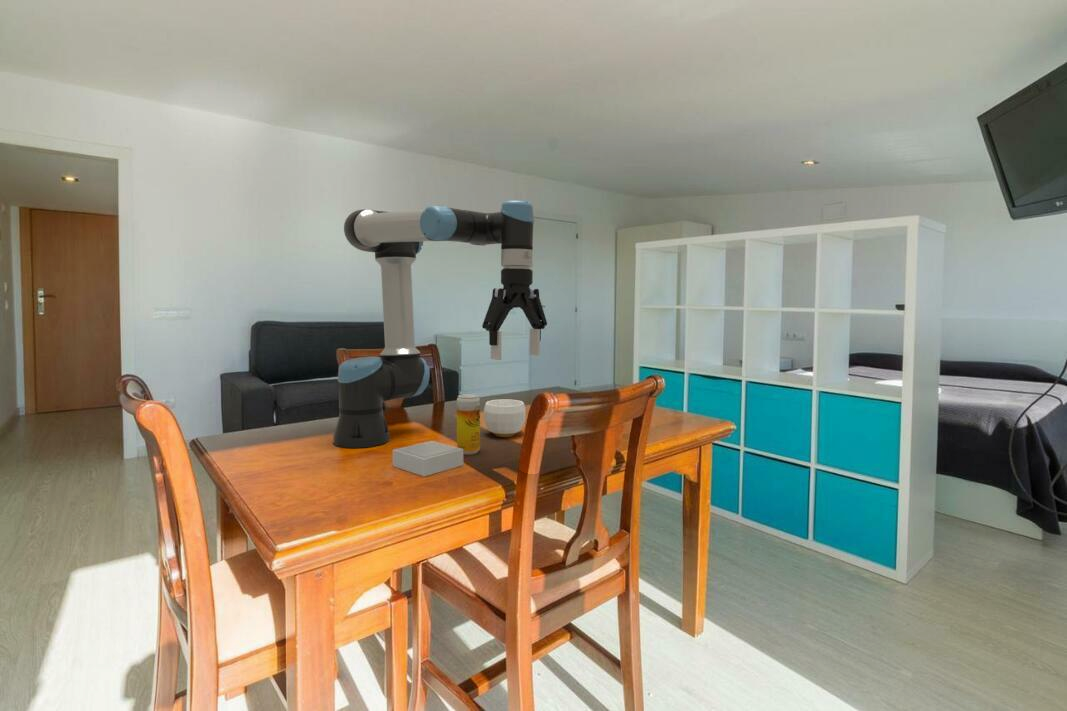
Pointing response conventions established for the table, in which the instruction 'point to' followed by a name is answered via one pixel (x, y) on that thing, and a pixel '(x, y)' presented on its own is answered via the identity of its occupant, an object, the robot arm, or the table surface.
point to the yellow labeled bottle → (468, 423)
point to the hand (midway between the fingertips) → (515, 357)
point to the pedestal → (427, 458)
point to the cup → (504, 416)
